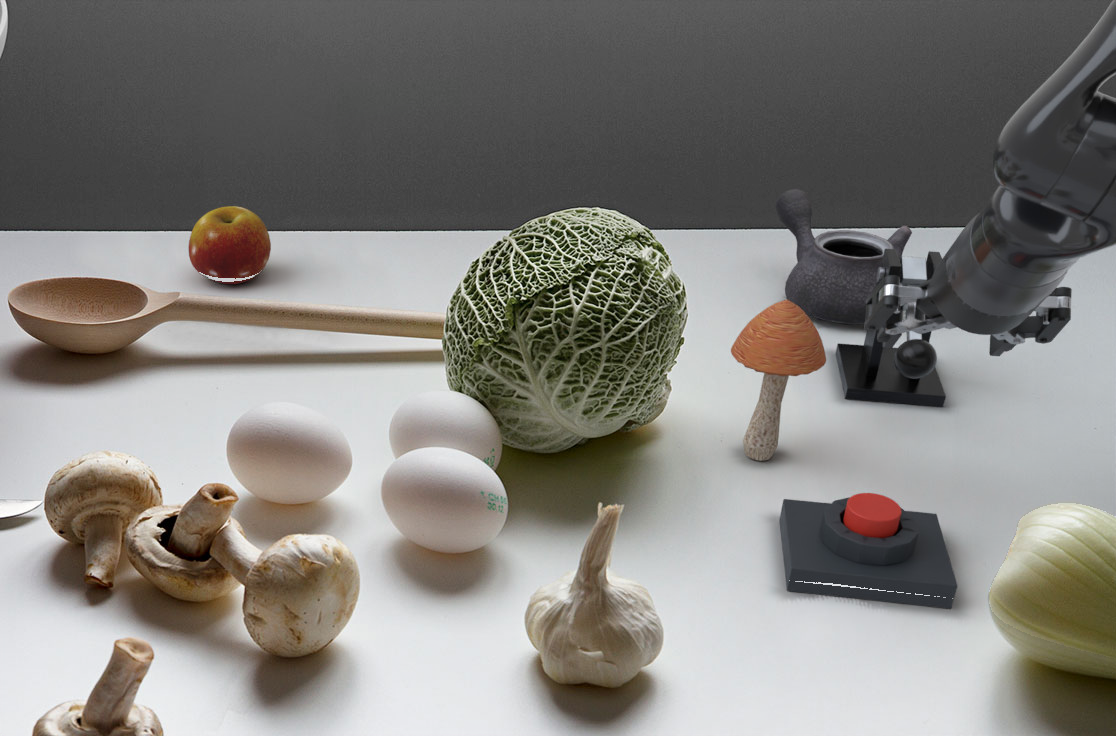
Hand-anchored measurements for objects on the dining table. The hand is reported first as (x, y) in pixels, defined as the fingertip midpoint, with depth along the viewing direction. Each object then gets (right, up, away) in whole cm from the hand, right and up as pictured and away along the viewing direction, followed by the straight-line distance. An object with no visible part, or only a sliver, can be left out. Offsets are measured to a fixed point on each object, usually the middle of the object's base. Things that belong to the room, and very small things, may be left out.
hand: (940, 341), depth 109 cm
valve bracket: (+4, -1, +20) cm, 20 cm away
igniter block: (-9, -18, -6) cm, 22 cm away
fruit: (-64, +13, +43) cm, 79 cm away
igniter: (-9, -15, -8) cm, 20 cm away
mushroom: (-13, -9, +8) cm, 18 cm away
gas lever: (+3, +2, +13) cm, 13 cm away
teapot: (+4, +10, +37) cm, 38 cm away
